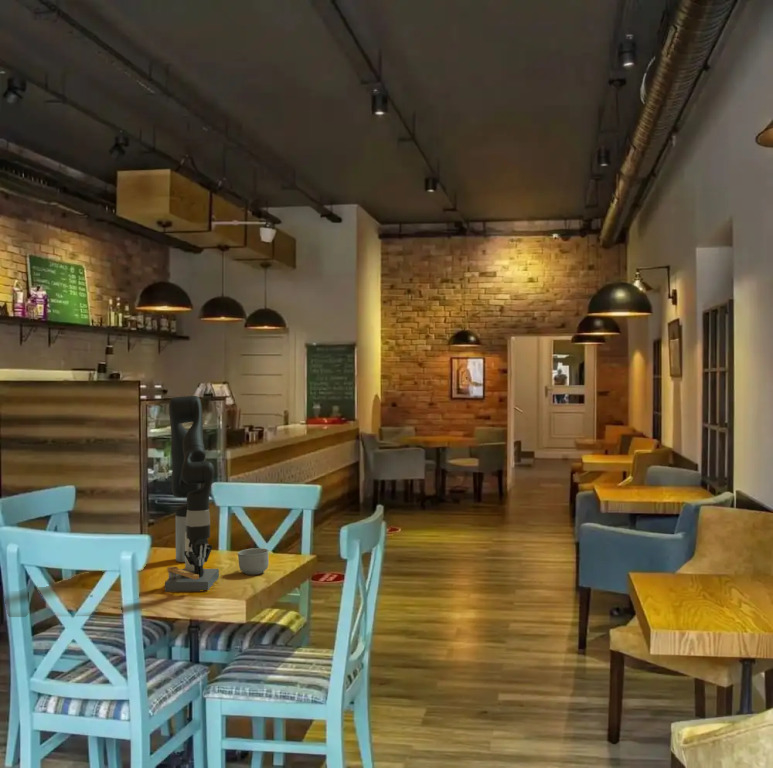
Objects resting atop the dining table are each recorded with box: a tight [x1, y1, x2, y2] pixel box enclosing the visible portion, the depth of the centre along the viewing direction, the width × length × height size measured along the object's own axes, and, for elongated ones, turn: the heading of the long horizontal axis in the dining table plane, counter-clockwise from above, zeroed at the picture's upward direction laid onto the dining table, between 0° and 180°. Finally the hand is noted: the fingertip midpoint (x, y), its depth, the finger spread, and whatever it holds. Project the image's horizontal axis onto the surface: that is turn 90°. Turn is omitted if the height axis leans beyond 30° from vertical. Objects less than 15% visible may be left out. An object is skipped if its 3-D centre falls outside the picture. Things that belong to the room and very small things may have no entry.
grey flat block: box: [164, 568, 220, 592], centre depth 292 cm, size 20×14×5 cm
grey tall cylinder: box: [181, 525, 205, 573], centre depth 292 cm, size 8×8×20 cm
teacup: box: [237, 547, 269, 576], centre depth 310 cm, size 14×11×8 cm
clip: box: [166, 566, 199, 580], centre depth 283 cm, size 3×18×1 cm, turn 42°
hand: (198, 576), depth 280 cm, fingers closed
